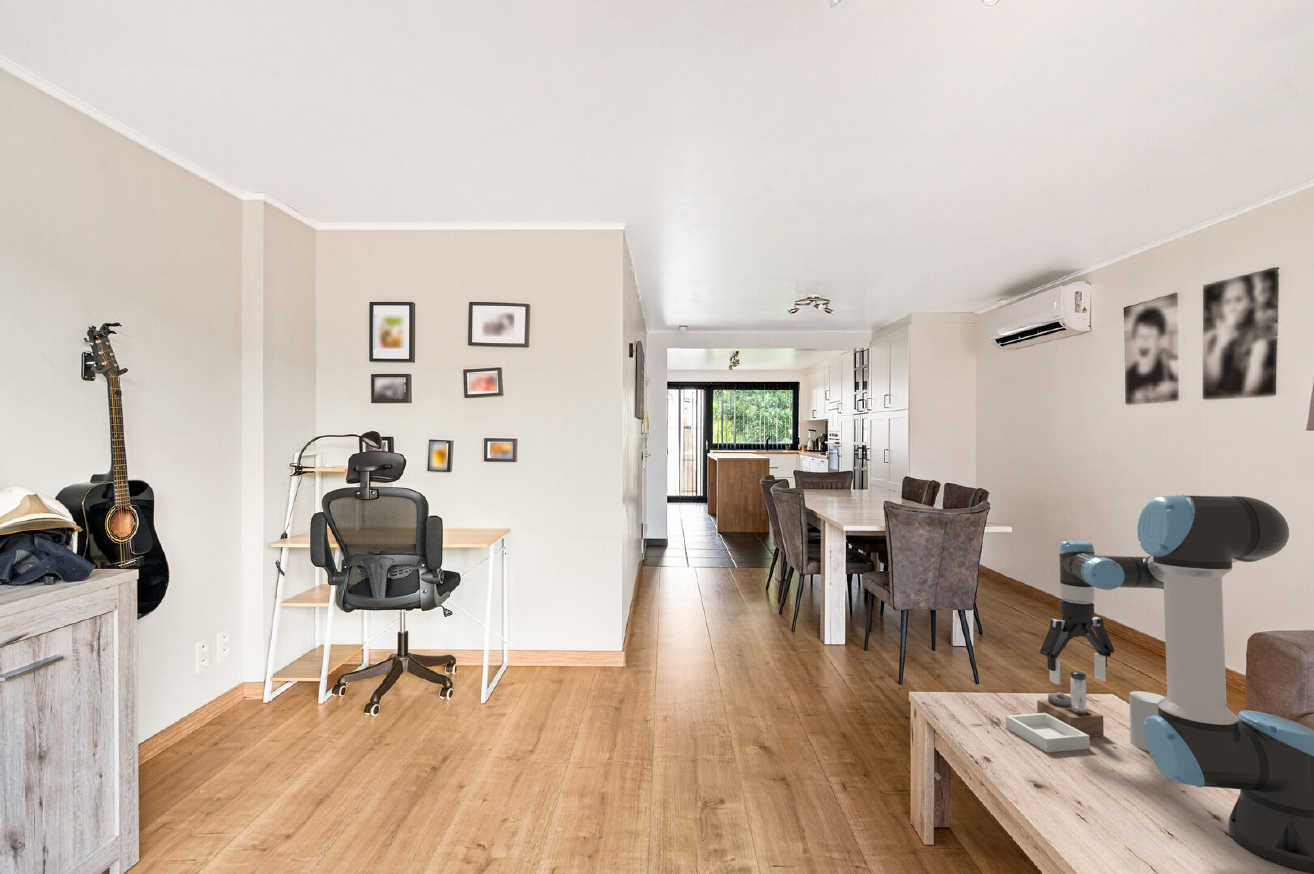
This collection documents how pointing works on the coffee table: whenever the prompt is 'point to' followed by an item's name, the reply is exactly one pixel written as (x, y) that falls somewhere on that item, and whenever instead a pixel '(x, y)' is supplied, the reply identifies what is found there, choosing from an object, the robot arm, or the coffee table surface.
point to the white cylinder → (1141, 715)
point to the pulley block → (1071, 714)
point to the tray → (1047, 732)
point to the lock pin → (1078, 693)
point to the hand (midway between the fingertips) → (1077, 681)
